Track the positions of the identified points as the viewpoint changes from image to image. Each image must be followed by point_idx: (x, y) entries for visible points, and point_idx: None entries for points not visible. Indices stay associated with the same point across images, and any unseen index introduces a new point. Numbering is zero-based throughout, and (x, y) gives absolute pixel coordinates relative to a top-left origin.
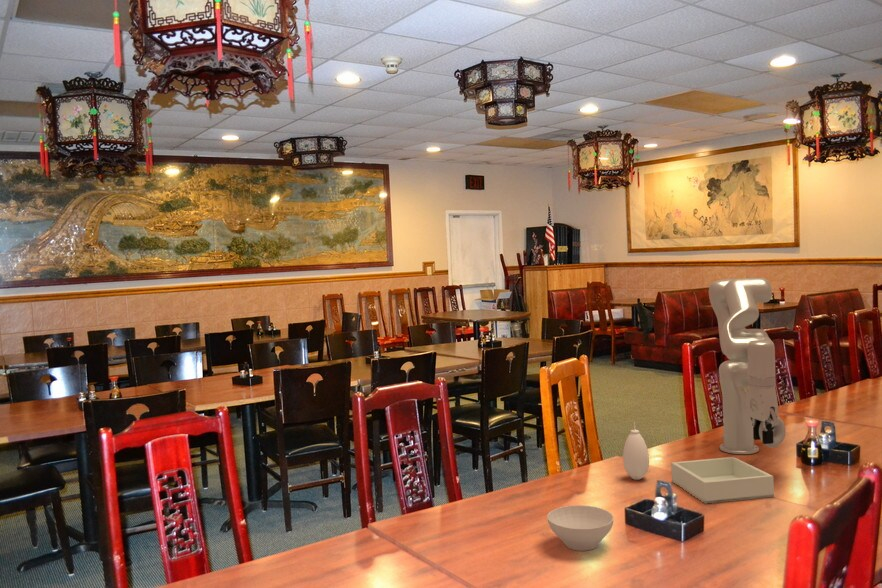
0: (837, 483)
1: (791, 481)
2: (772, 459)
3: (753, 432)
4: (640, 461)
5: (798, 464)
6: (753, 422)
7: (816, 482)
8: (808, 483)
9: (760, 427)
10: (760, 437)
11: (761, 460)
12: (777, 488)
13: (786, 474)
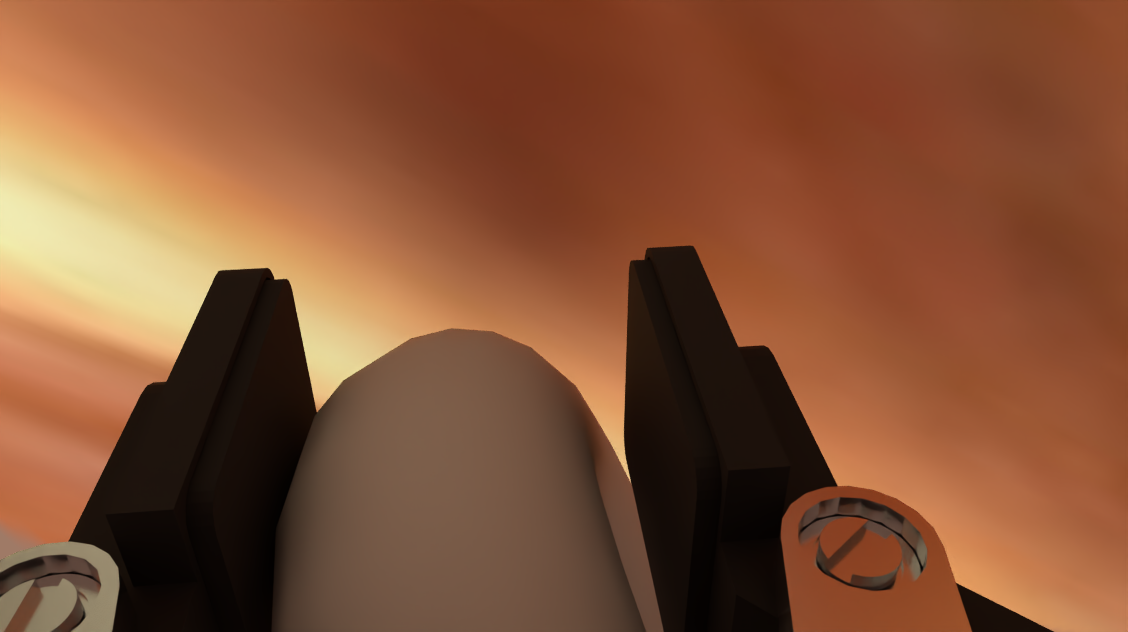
0: None
1: (332, 304)
2: (1034, 462)
3: (723, 344)
4: None
5: None
6: (861, 617)
7: None
8: None
9: (441, 594)
10: (449, 357)
11: (1069, 368)
12: (67, 26)
13: (572, 367)
